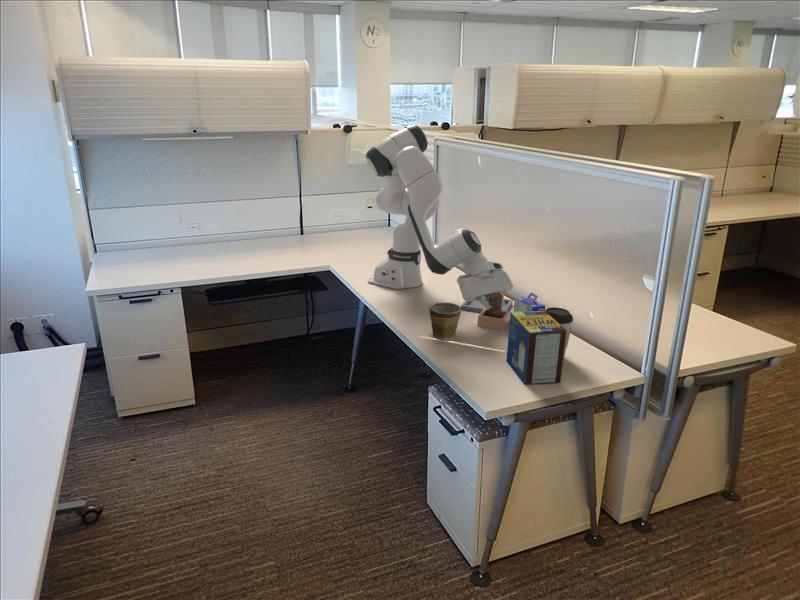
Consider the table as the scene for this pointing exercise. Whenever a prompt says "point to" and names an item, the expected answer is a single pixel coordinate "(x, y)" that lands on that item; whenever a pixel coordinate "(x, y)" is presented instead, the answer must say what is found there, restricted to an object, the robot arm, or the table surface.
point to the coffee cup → (562, 321)
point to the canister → (495, 305)
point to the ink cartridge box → (527, 304)
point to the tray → (478, 307)
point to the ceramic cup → (444, 320)
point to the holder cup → (494, 320)
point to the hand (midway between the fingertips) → (496, 307)
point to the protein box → (535, 347)
